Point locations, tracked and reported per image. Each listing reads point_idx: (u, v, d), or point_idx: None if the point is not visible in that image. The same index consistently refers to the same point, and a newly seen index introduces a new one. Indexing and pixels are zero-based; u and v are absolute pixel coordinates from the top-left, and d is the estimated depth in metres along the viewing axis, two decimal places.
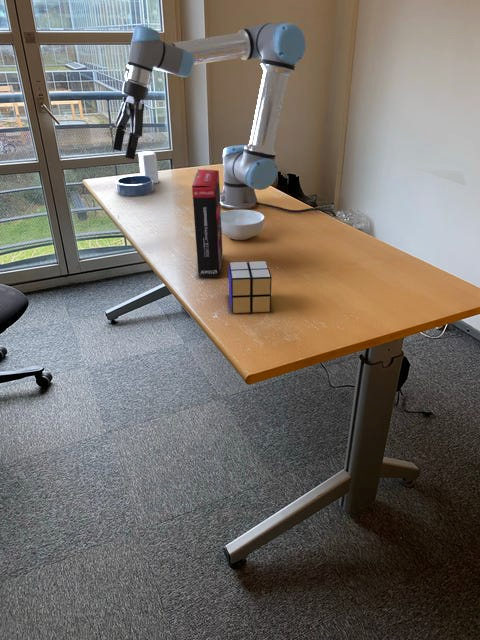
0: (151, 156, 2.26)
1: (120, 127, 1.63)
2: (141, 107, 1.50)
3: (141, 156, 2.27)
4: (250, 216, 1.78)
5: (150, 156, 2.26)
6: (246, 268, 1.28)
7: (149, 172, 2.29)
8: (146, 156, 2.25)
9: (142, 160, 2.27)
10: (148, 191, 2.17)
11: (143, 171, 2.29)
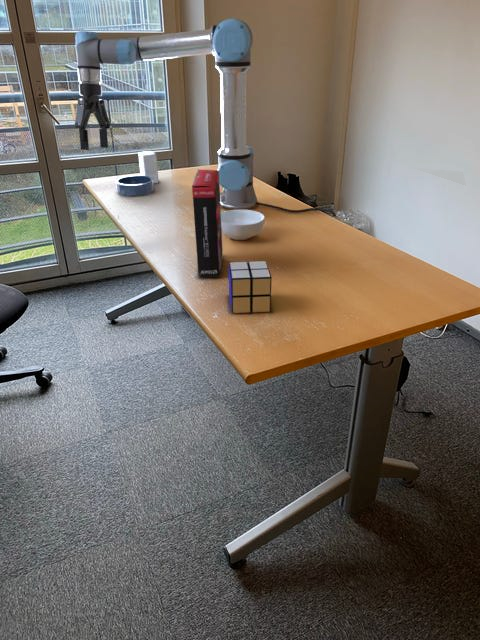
0: (151, 156, 2.26)
1: (103, 126, 1.85)
2: (82, 102, 1.69)
3: (141, 156, 2.27)
4: (250, 216, 1.78)
5: (150, 156, 2.26)
6: (246, 268, 1.28)
7: (149, 172, 2.29)
8: (146, 156, 2.25)
9: (142, 160, 2.27)
10: (148, 191, 2.17)
11: (143, 171, 2.29)
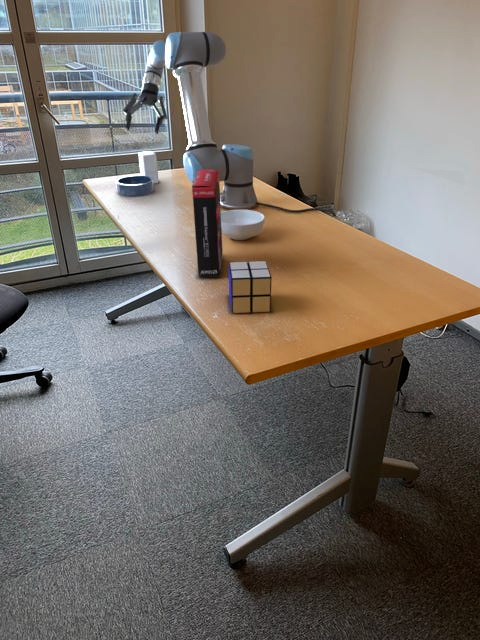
0: (151, 156, 2.26)
1: None
2: None
3: (141, 156, 2.27)
4: (250, 216, 1.78)
5: (150, 156, 2.26)
6: (246, 268, 1.28)
7: (149, 172, 2.29)
8: (146, 156, 2.25)
9: (142, 160, 2.27)
10: (148, 191, 2.17)
11: (143, 171, 2.29)
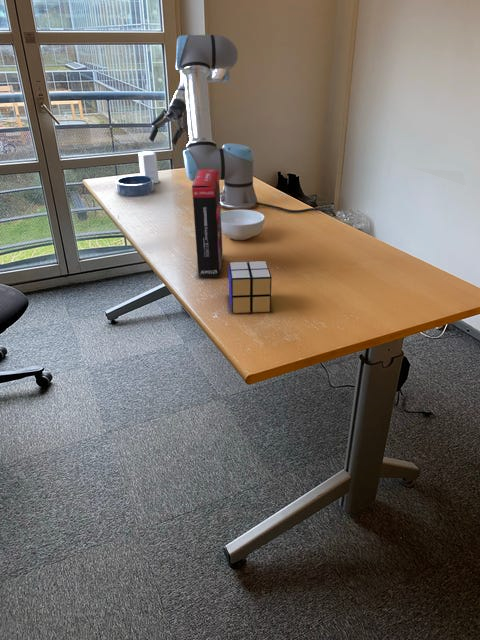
0: (151, 156, 2.26)
1: None
2: None
3: (141, 156, 2.27)
4: (250, 216, 1.78)
5: (150, 156, 2.26)
6: (246, 268, 1.28)
7: (149, 172, 2.29)
8: (146, 156, 2.25)
9: (142, 160, 2.27)
10: (148, 191, 2.17)
11: (143, 171, 2.29)
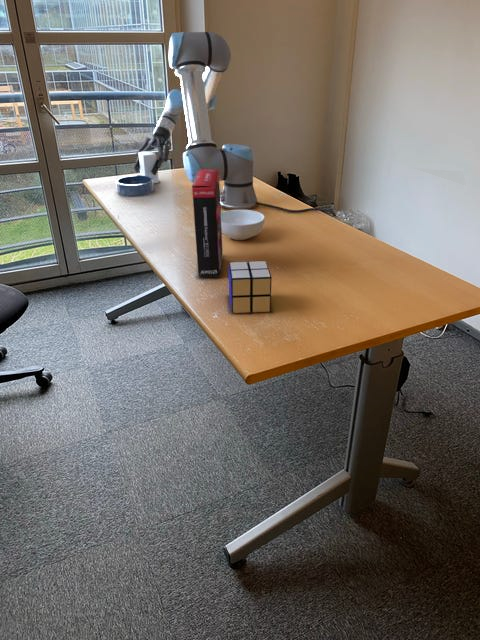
0: (151, 156, 2.26)
1: None
2: None
3: (141, 156, 2.27)
4: (250, 216, 1.78)
5: (150, 156, 2.26)
6: (246, 268, 1.28)
7: (149, 172, 2.29)
8: (146, 156, 2.25)
9: (142, 160, 2.27)
10: (148, 191, 2.17)
11: (143, 171, 2.29)
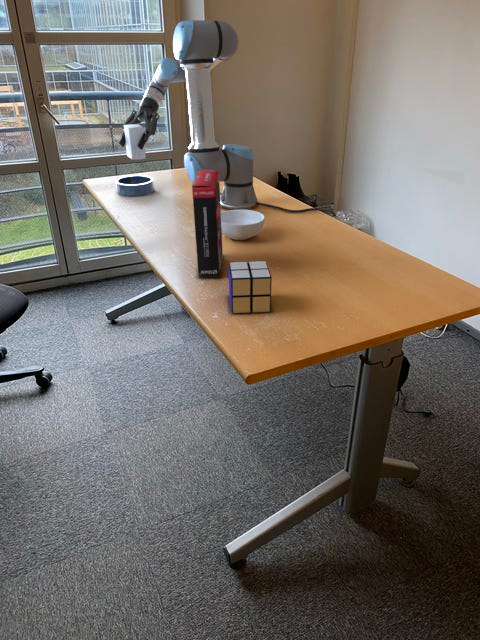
0: (137, 129, 2.09)
1: None
2: None
3: (127, 129, 2.10)
4: (250, 216, 1.78)
5: (136, 129, 2.09)
6: (246, 268, 1.28)
7: (135, 146, 2.12)
8: (132, 129, 2.08)
9: (128, 133, 2.10)
10: (148, 191, 2.17)
11: (129, 145, 2.13)
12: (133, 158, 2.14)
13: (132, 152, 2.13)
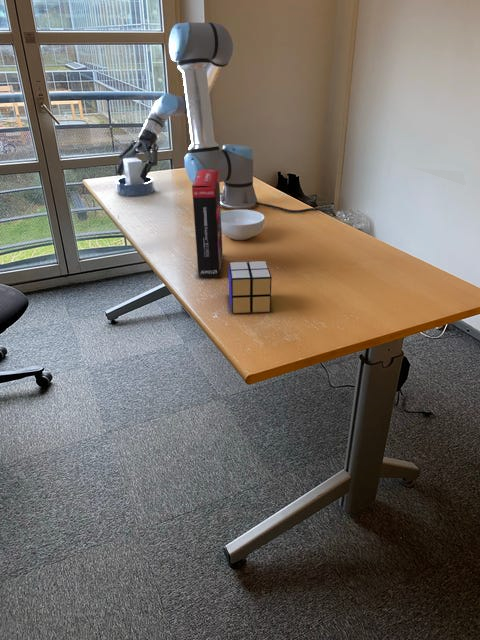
0: (136, 163, 2.12)
1: None
2: None
3: (126, 163, 2.13)
4: (250, 216, 1.78)
5: (135, 163, 2.12)
6: (246, 268, 1.28)
7: (134, 180, 2.15)
8: (131, 163, 2.11)
9: (127, 167, 2.13)
10: (148, 191, 2.17)
11: (128, 179, 2.16)
12: None
13: None
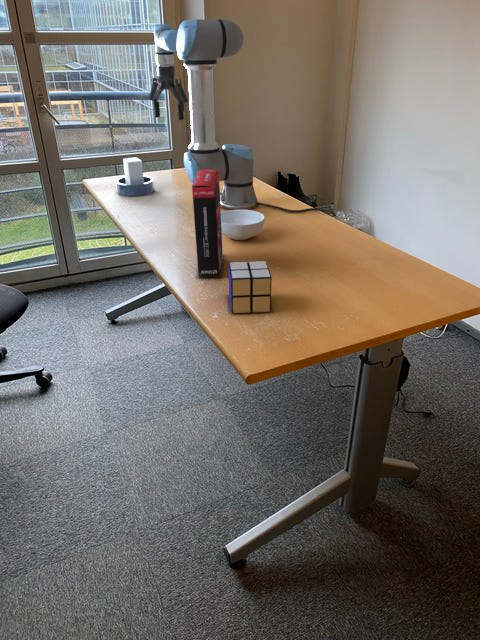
0: (136, 163, 2.12)
1: None
2: None
3: (126, 163, 2.13)
4: (250, 216, 1.78)
5: (135, 163, 2.12)
6: (246, 268, 1.28)
7: (134, 180, 2.15)
8: (131, 163, 2.11)
9: (127, 167, 2.13)
10: (148, 191, 2.17)
11: (128, 179, 2.16)
12: None
13: None
